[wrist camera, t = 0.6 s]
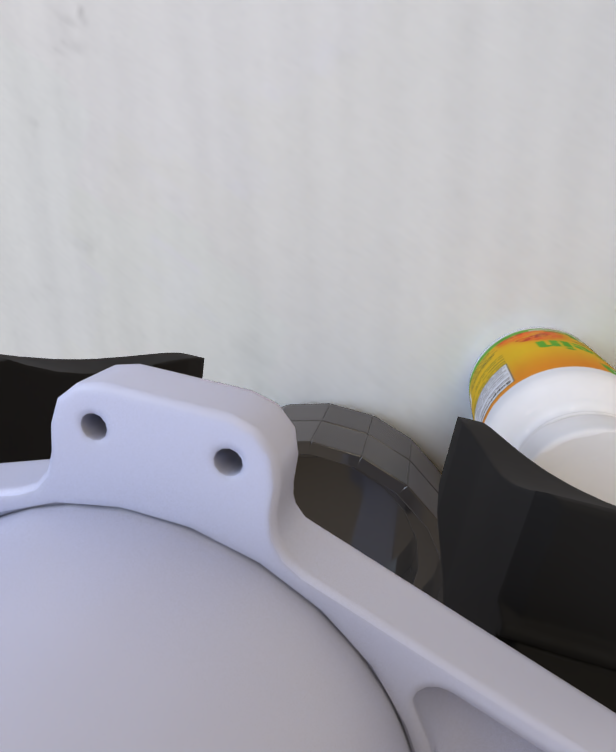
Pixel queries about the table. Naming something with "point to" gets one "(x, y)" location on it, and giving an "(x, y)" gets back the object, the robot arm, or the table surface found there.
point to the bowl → (369, 490)
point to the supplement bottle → (551, 405)
